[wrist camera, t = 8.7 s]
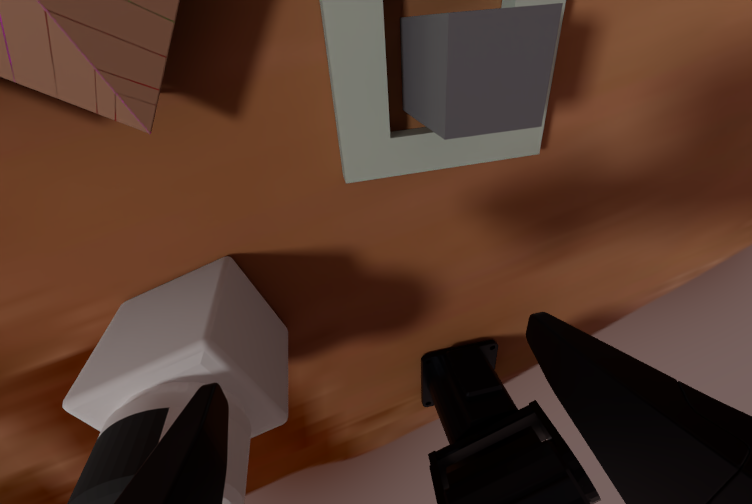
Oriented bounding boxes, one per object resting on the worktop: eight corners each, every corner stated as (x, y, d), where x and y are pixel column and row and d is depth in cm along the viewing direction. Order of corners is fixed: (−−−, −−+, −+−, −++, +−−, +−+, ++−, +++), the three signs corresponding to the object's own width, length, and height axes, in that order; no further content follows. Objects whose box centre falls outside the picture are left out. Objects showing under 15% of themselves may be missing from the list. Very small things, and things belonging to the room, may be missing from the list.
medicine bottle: (197, 369, 25) (136, 598, 15) (120, 301, 21) (-33, 550, 11) (290, 329, 25) (291, 533, 15) (229, 251, 21) (175, 459, 11)
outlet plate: (527, 148, 21) (547, 158, 19) (343, 175, 20) (348, 189, 18) (584, -223, 13) (626, -258, 12) (289, -222, 12) (289, -262, 10)
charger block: (475, 100, 19) (541, 126, 14) (402, 109, 18) (444, 139, 13) (481, 10, 17) (562, 2, 12) (399, 17, 16) (448, 12, 11)
